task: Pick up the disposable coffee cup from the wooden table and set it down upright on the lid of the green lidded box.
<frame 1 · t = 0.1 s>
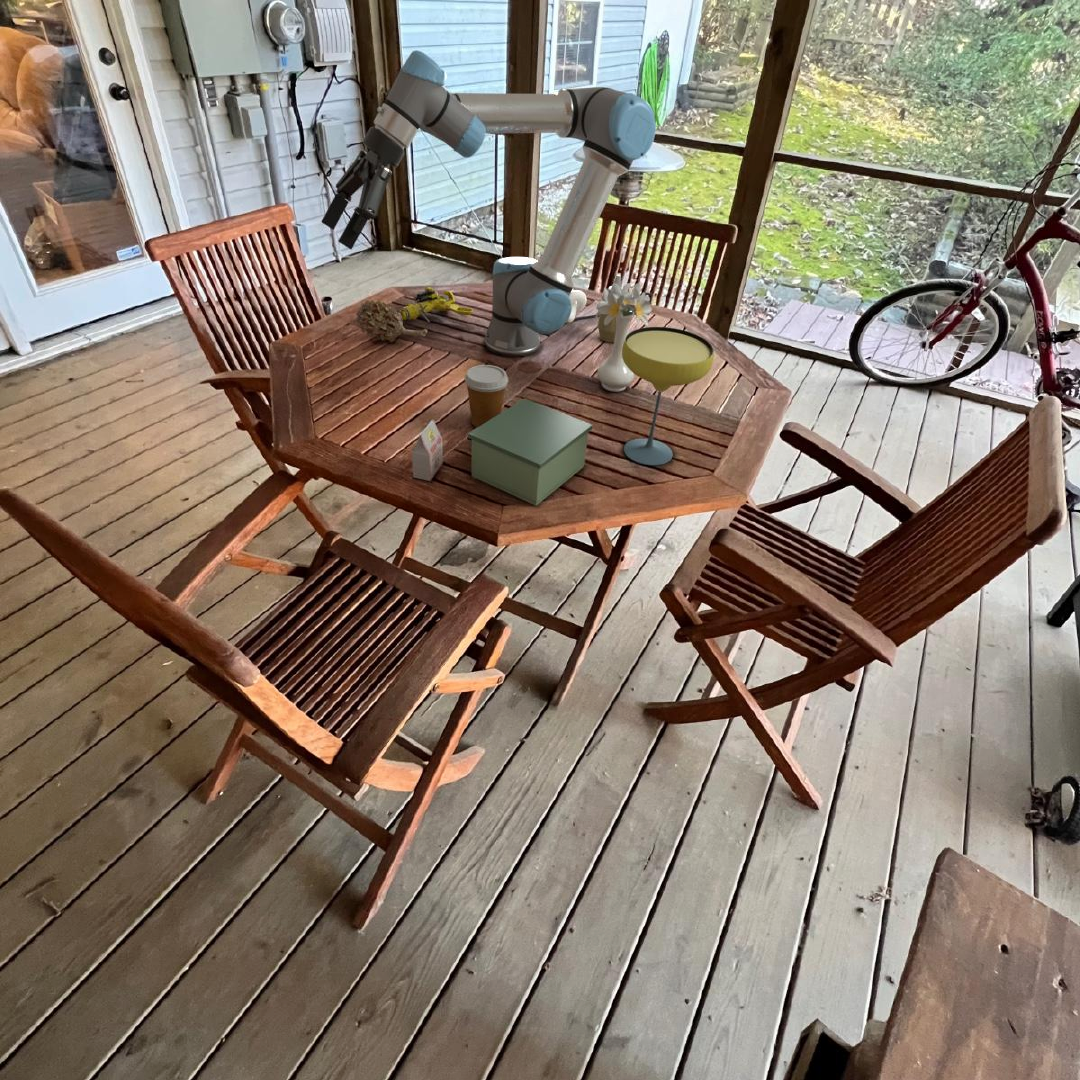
hand: (335, 235, 139), 36 cm above the table, tool tilted 35°, fingers open, 13 cm apart
green lidded box: (528, 471, 142), on the table
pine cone: (394, 342, 186), on the table
squeeze bottle: (609, 339, 198), on the table
white gable carton: (428, 471, 140), on the table
cocktail glass: (647, 453, 151), on the table
flower vase: (612, 385, 175), on the table
sprinkler: (432, 315, 202), on the table
pretzel: (562, 317, 208), on the table
disposable coffee cup: (485, 423, 156), on the table
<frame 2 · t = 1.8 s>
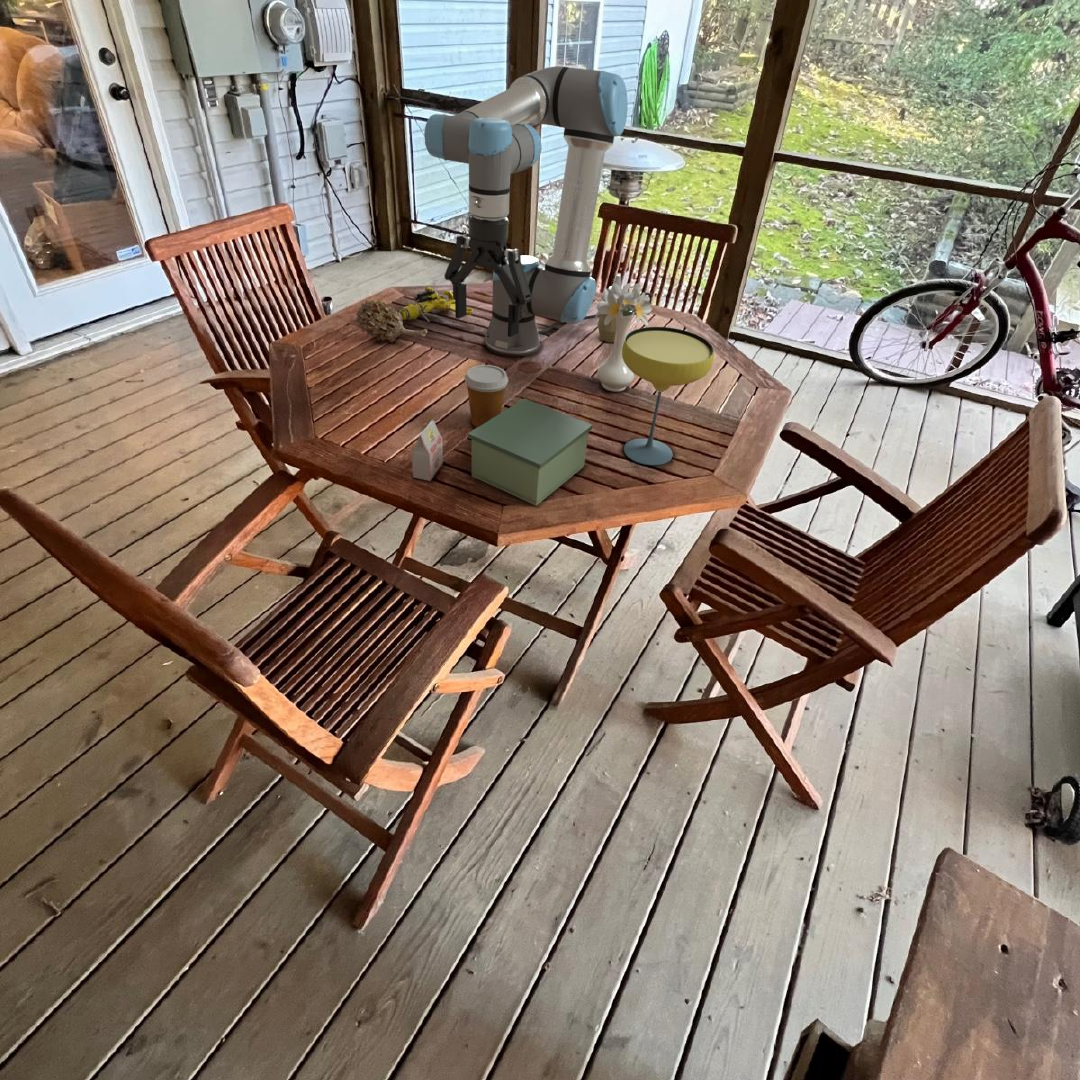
hand: (486, 325, 142), 23 cm above the table, tool pointing down, fingers open, 13 cm apart
nothing on the table moved.
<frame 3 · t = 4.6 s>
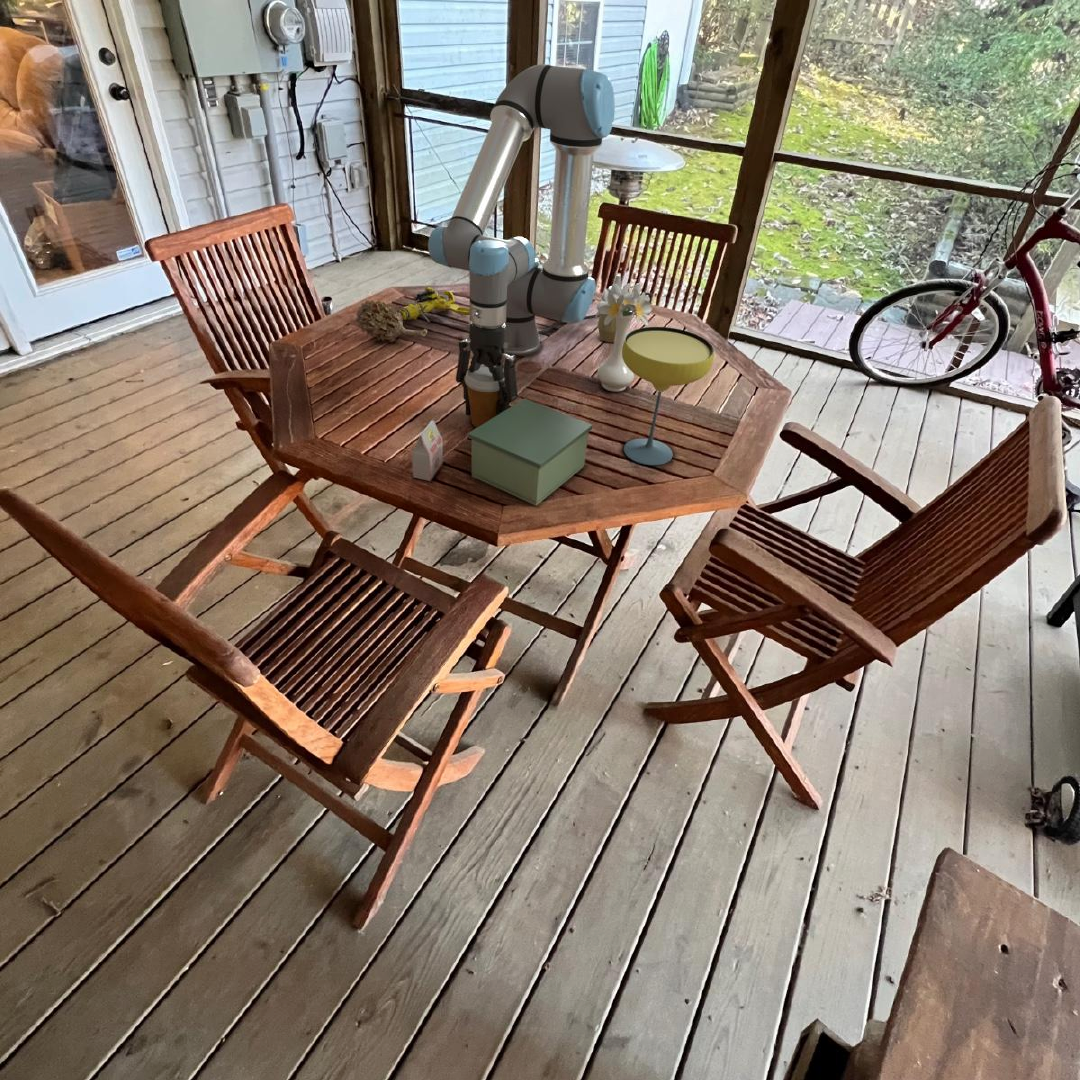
hand: (485, 419, 156), 1 cm above the table, tool pointing down, fingers closed on disposable coffee cup, 8 cm apart
disposable coffee cup: (485, 423, 156), on the table, touching gripper
everything else where it was.
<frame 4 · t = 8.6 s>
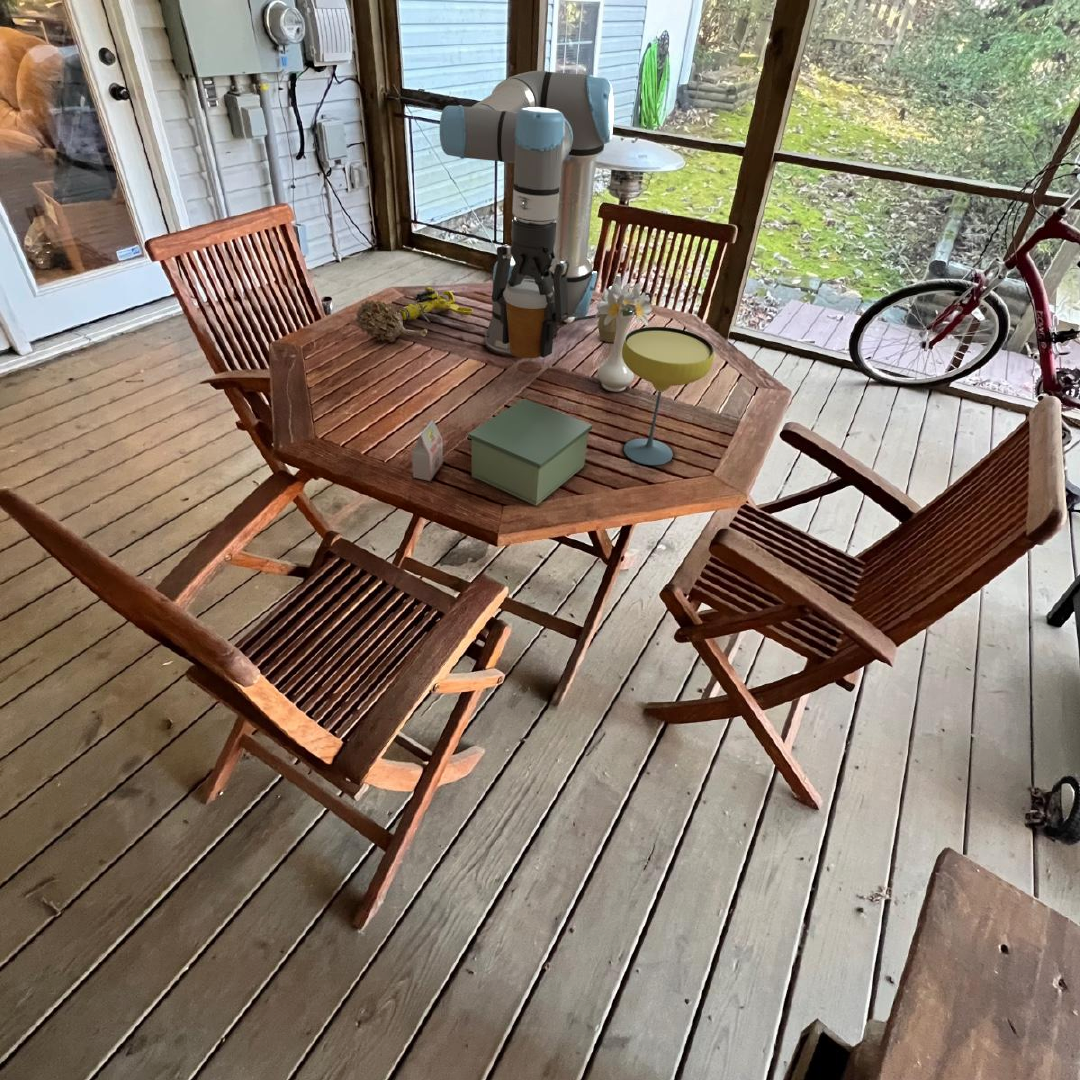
hand: (527, 347, 128), 25 cm above the table, tool pointing down, fingers closed on disposable coffee cup, 8 cm apart
disposable coffee cup: (526, 352, 129), point 24 cm above the table, touching gripper
everything else where it was.
when the fingers open (11 cm above the table, at t = 12.6 s): disposable coffee cup stays where it is, resting on green lidded box.
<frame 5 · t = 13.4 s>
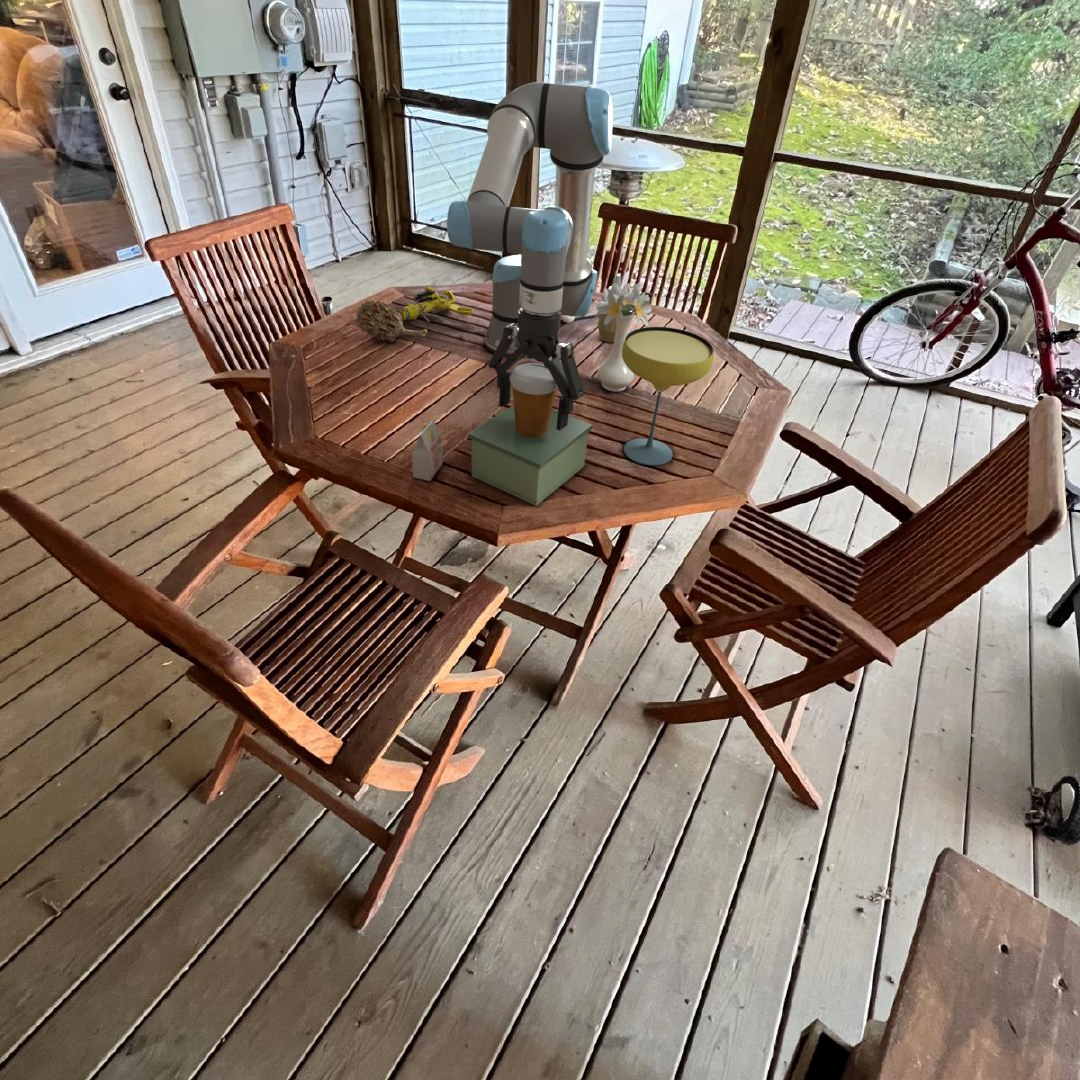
hand: (532, 415, 134), 13 cm above the table, tool pointing down, fingers open, 13 cm apart
disposable coffee cup: (531, 430, 136), point 10 cm above the table, touching green lidded box
everything else where it was.
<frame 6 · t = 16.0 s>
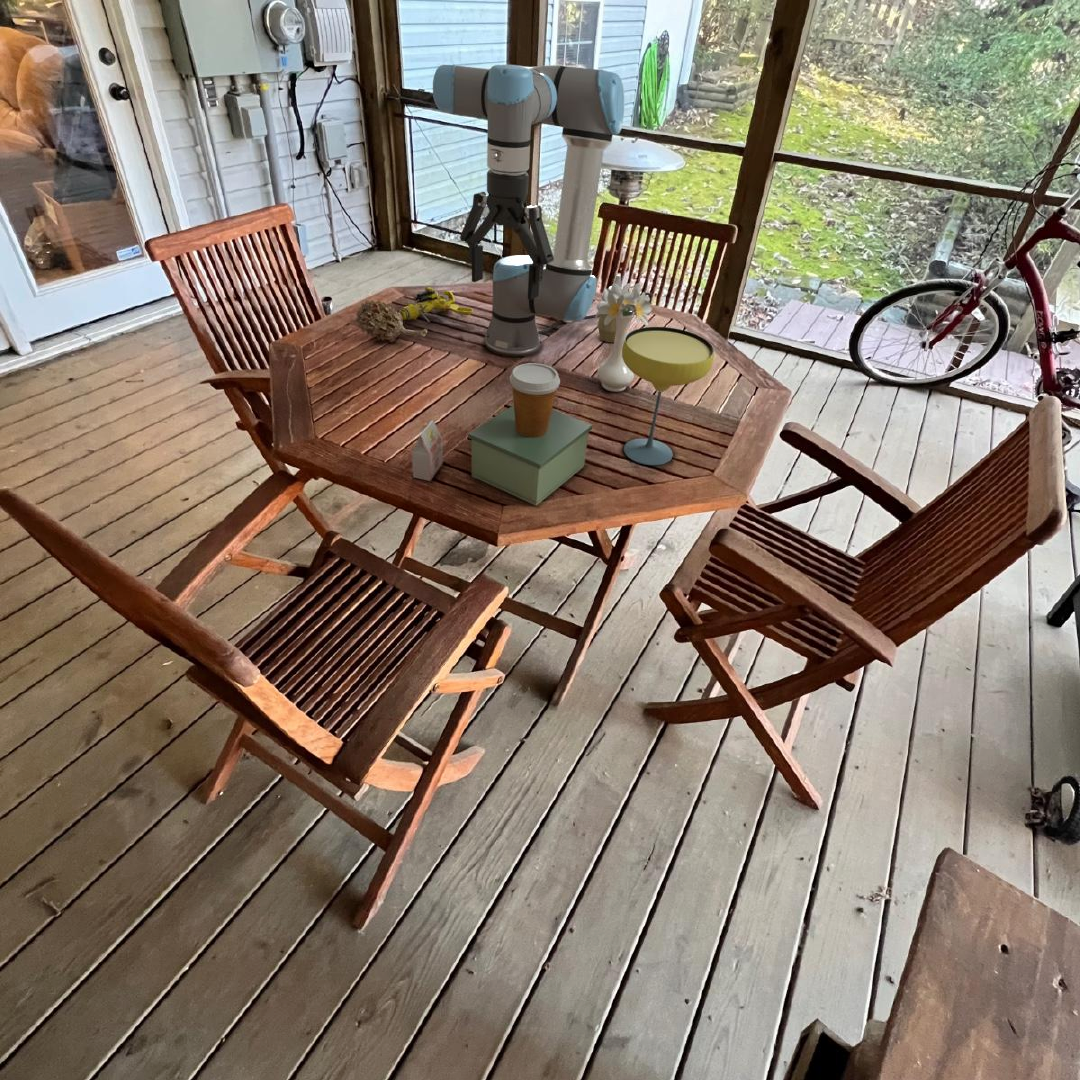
hand: (504, 288, 136), 31 cm above the table, tool pointing down, fingers open, 13 cm apart
nothing on the table moved.
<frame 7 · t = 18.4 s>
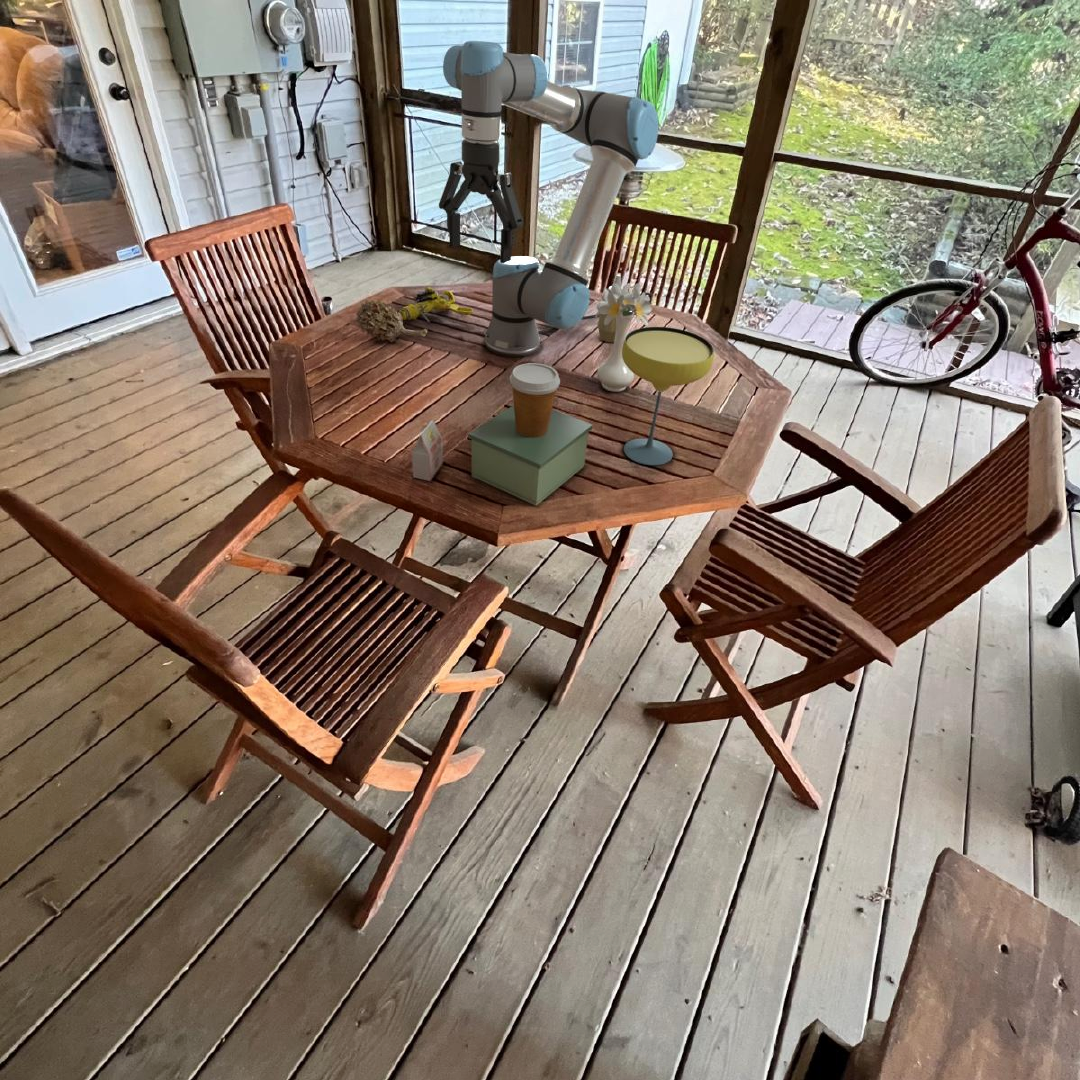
hand: (479, 253, 146), 33 cm above the table, tool pointing down, fingers open, 13 cm apart
nothing on the table moved.
at the end: disposable coffee cup inside the target area on the green lidded box (0.1 cm from its centre), point 9.8 cm above the green lidded box's base; disposable coffee cup tilted 0°; the gripper is holding nothing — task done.
